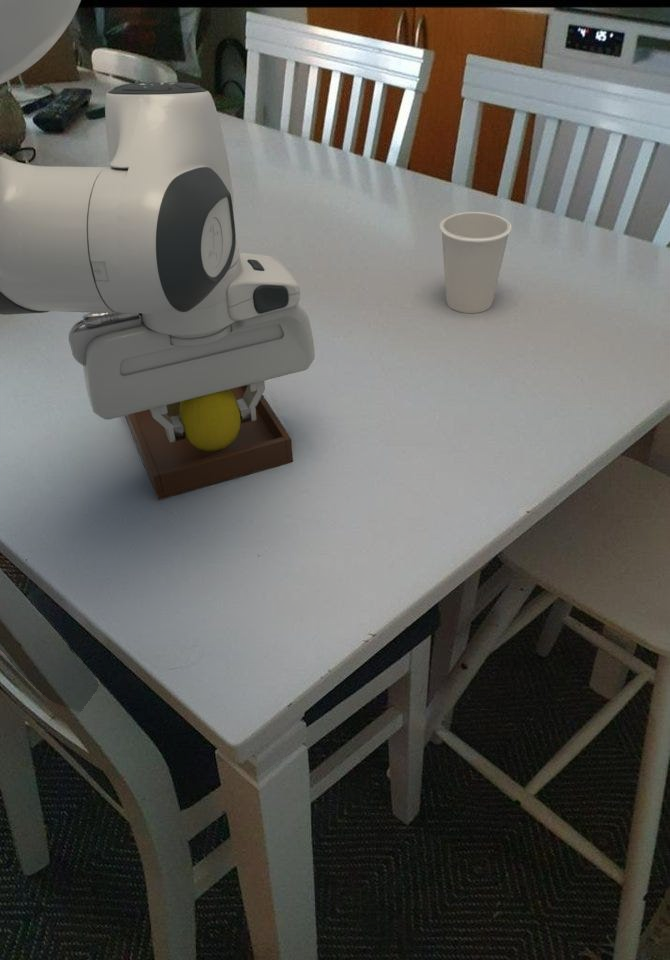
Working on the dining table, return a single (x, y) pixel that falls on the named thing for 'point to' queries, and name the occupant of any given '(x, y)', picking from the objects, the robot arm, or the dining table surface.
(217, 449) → the lemon
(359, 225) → the dining table surface
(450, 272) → the dixie cup
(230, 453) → the tray
